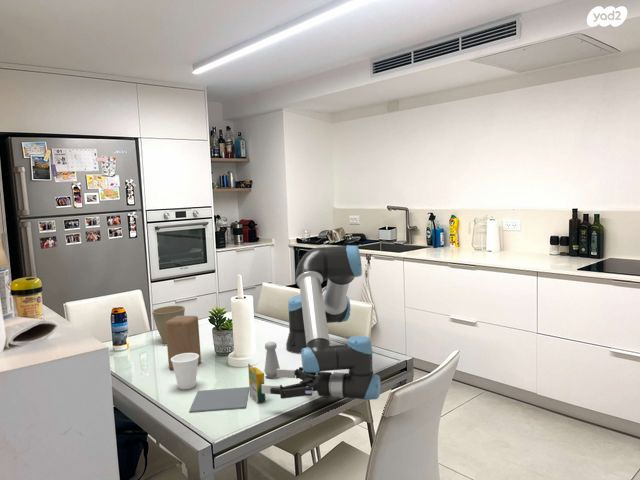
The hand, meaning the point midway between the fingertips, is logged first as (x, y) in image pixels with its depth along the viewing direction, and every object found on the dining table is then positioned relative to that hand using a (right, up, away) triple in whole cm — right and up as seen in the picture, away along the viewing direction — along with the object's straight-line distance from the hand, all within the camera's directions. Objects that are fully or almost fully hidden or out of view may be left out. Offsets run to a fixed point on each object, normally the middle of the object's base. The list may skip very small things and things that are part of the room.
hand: (269, 380), depth 160 cm
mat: (-17, -7, +3) cm, 18 cm away
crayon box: (-4, -7, +2) cm, 9 cm away
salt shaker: (-1, -5, +22) cm, 22 cm away
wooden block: (-38, -5, +37) cm, 54 cm away
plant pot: (-55, -2, +72) cm, 91 cm away
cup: (-32, -7, +16) cm, 36 cm away
